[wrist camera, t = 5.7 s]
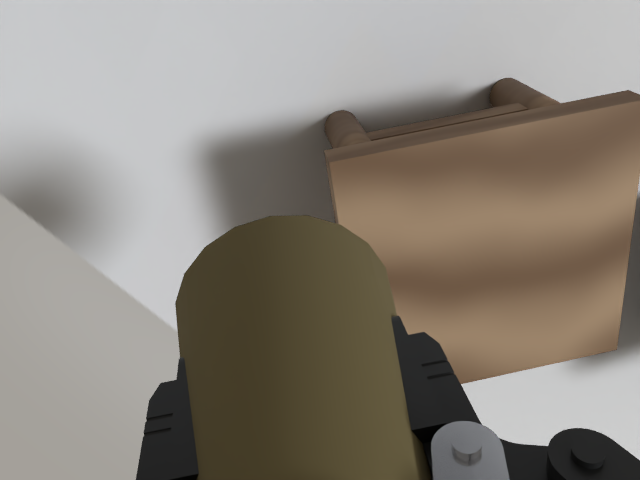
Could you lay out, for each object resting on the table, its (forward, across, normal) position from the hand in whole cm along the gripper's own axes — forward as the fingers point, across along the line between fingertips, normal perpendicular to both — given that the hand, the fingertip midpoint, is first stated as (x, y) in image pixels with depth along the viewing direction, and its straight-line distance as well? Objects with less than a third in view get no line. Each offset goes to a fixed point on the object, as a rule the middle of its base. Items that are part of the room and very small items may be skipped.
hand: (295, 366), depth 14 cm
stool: (+21, -10, +6) cm, 24 cm away
